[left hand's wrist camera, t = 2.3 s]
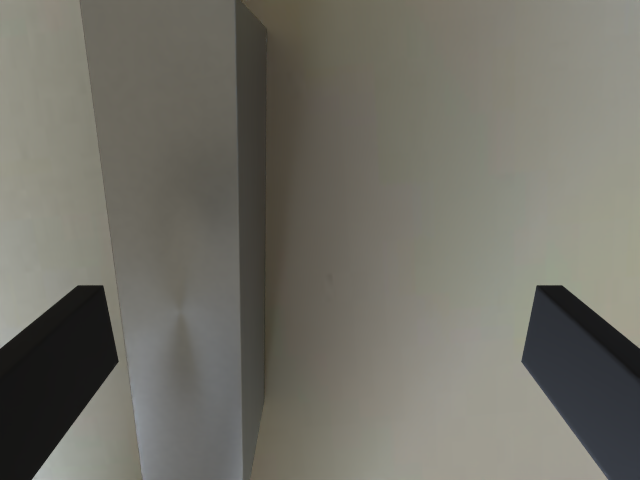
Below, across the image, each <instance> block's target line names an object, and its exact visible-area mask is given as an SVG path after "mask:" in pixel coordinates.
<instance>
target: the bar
mask: <svg viewBox="0 0 640 480" xmlns="http://www.w3.org/2000/svg"><path fill="white" fill-rule="evenodd" d="M80 7H81V14H82V22H83V29H84V37H85V45H86V52H87V60H88V68H89V75H90V83H91V90H92V98H93V106H94V113H95V121H96V129H97V136H98V144H99V152H100V159H101V167H102V174H103V182H104V190H105V197H106V205H107V213H108V220H109V228H110V235H111V243H112V251H113V258H114V266H115V274H116V281H117V289H118V297H119V304H120V312H121V319H122V327H123V335H124V342H125V350H126V358H127V365H128V373H129V380H130V388H131V396H132V403H133V411H134V419H135V426H136V434H137V441H138V449H139V457H140V464H141V472H142V480H250V476H251V470H252V465H253V460H254V454H255V449H256V443H257V438H258V432H259V427H260V421H261V416H262V410H263V405H264V336H265V186H266V36H267V29H266V28H265V27H264V26H263V24H262V23H261V22H260V21H259V20H258V19H257V18H256V17H255V16H254V15H253V14H252V13H251V11H250V10H249V9H248V8H247V7H246V6H245V5H244V4H243V3H242V2H241V1H240V0H80Z"/></svg>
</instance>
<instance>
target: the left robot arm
mask: <svg viewBox="0 0 640 480" xmlns="http://www.w3.org/2000/svg"><path fill="white" fill-rule="evenodd" d="M118 362H119V361H118V356H117V351H116V346H115V341H114V337H113V332H112V327H111V322H110V317H109V312H108V307H107V302H106V297H105V292H104V287H103V285H78V286H77V287H75V288H74V289H73V290H72V291H71V292H69V293H68V294H67V295H66V296H64V297H63V298H62V299H61V300H59V301H58V302H57V303H56V304H55V305H53V306H52V307H51V308H50V309H48V310H47V311H46V312H45V313H44V314H42V315H41V316H40V317H39V318H37V319H36V320H35V321H34V322H33V323H31V324H30V325H29V326H28V327H26V328H25V329H24V330H23V331H21V332H20V333H19V334H18V335H17V336H15V337H14V338H13V339H12V340H10V341H9V342H8V343H7V344H6V345H4V346H3V347H2V348H1V349H0V480H32V479H33V477H34V476H35V474H36V473H37V472H38V470H39V469H40V468H41V466H42V465H43V464H44V462H45V461H46V460H47V458H48V457H49V455H50V454H51V453H52V451H53V450H54V449H55V447H56V446H57V445H58V443H59V442H60V441H61V439H62V438H63V436H64V435H65V434H66V432H67V431H68V430H69V428H70V427H71V426H72V424H73V423H74V422H75V420H76V419H77V417H78V416H79V415H80V413H81V412H82V411H83V409H84V408H85V407H86V405H87V404H88V403H89V401H90V400H91V398H92V397H93V396H94V394H95V393H96V392H97V390H98V389H99V388H100V386H101V385H102V383H103V382H104V381H105V379H106V378H107V377H108V375H109V374H110V373H111V371H112V370H113V369H114V367H115V366H116V364H117V363H118ZM521 362H522V363H523V364H524V366H525V367H526V369H527V370H528V371H529V373H530V374H531V375H532V377H533V378H534V379H535V381H536V382H537V384H538V385H539V386H540V388H541V389H542V390H543V392H544V393H545V394H546V396H547V397H548V398H549V400H550V401H551V403H552V404H553V405H554V407H555V408H556V409H557V411H558V412H559V413H560V415H561V416H562V417H563V419H564V420H565V422H566V423H567V424H568V426H569V427H570V428H571V430H572V431H573V432H574V434H575V435H576V436H577V438H578V439H579V441H580V442H581V443H582V445H583V446H584V447H585V449H586V450H587V451H588V453H589V454H590V455H591V457H592V458H593V460H594V461H595V462H596V464H597V465H598V466H599V468H600V469H601V470H602V472H603V473H604V474H605V476H606V477H607V479H608V480H640V349H639V348H638V347H637V346H636V345H634V344H633V343H632V342H631V341H630V340H628V339H627V338H626V337H625V336H623V335H622V334H621V333H620V332H619V331H617V330H616V329H615V328H614V327H612V326H611V325H610V324H609V323H607V322H606V321H605V320H604V319H603V318H601V317H600V316H599V315H598V314H596V313H595V312H594V311H593V310H592V309H590V308H589V307H588V306H587V305H585V304H584V303H583V302H582V301H581V300H579V299H578V298H577V297H576V296H574V295H573V294H572V293H571V292H569V291H568V290H567V289H566V288H565V287H563V286H562V285H537V287H536V292H535V297H534V302H533V307H532V312H531V317H530V322H529V327H528V332H527V337H526V341H525V346H524V351H523V356H522V361H521Z"/></svg>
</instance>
